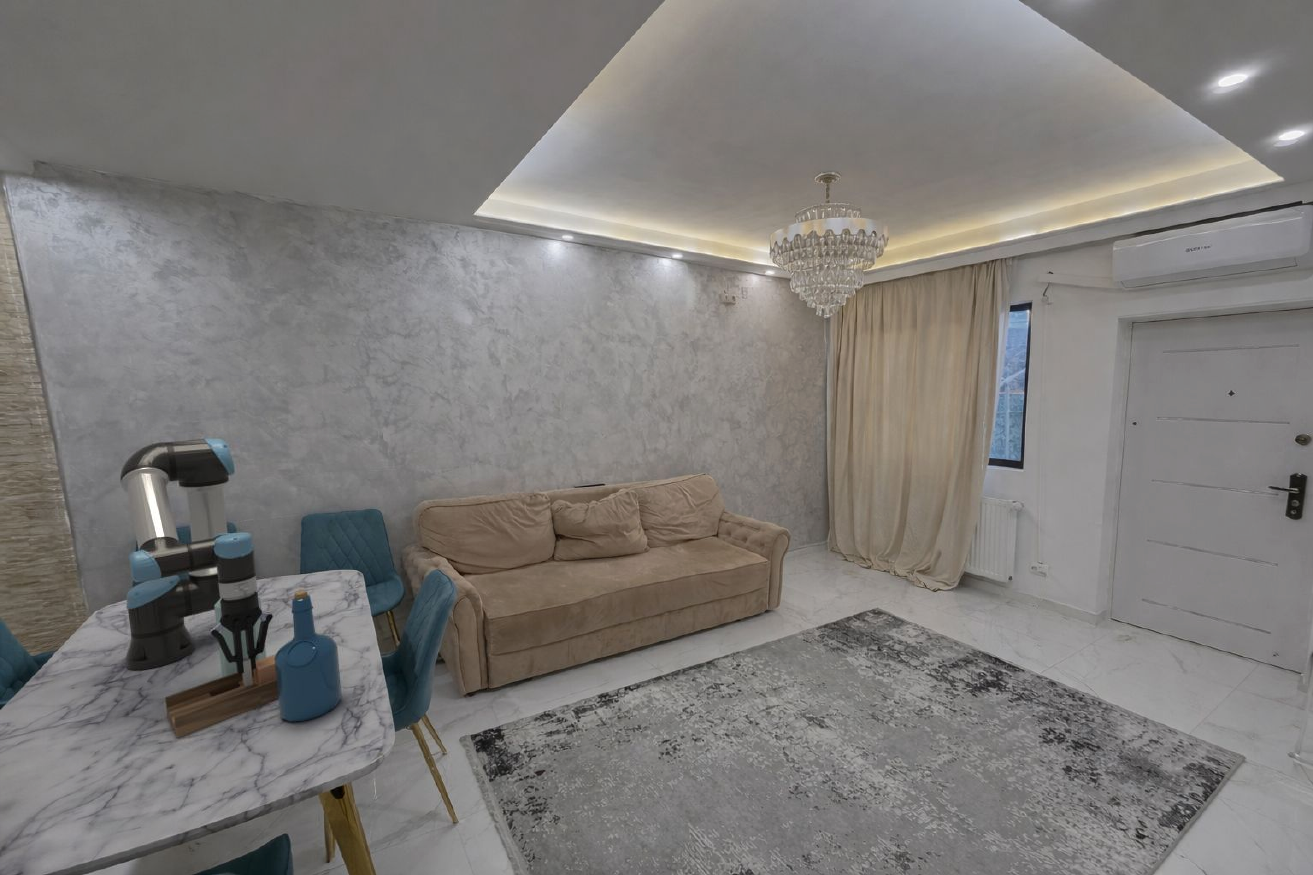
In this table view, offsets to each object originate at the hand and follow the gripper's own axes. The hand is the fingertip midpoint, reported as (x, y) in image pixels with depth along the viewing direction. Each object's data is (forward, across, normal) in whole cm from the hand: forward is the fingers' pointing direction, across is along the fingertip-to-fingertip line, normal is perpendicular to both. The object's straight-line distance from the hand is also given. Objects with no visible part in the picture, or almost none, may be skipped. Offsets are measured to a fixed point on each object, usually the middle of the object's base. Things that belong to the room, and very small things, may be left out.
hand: (248, 682), depth 136 cm
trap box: (+4, 0, 0) cm, 4 cm away
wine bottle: (+4, +9, -17) cm, 20 cm away
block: (+2, +5, 0) cm, 5 cm away
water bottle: (+4, +2, +16) cm, 16 cm away
